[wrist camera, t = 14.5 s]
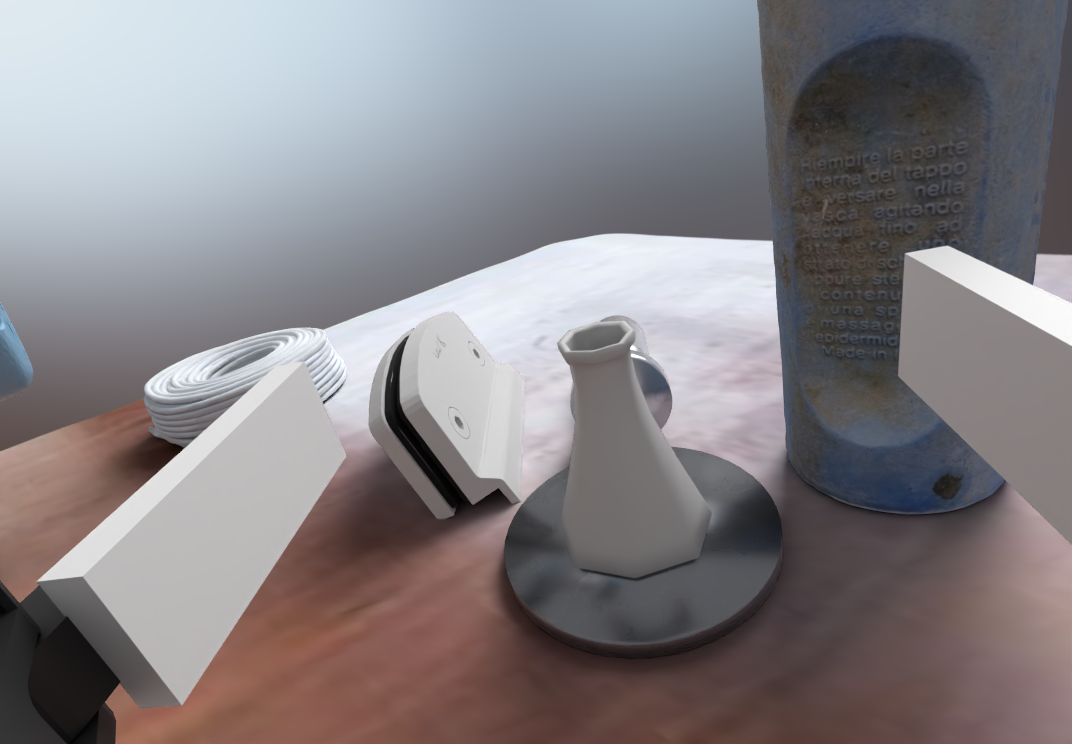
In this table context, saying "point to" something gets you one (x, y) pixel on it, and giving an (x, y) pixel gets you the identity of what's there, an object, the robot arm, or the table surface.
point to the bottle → (894, 214)
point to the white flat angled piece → (449, 415)
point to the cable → (233, 379)
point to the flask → (623, 466)
